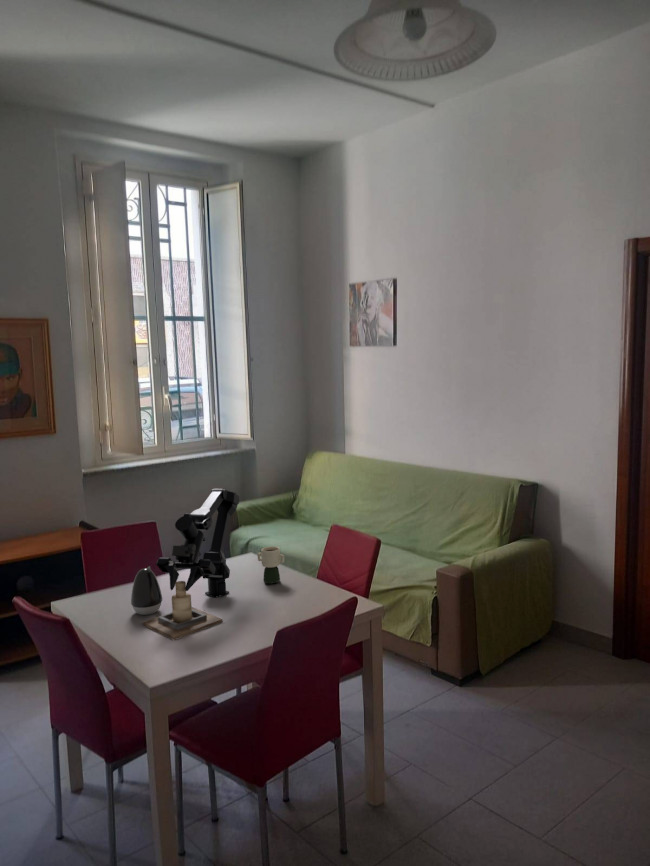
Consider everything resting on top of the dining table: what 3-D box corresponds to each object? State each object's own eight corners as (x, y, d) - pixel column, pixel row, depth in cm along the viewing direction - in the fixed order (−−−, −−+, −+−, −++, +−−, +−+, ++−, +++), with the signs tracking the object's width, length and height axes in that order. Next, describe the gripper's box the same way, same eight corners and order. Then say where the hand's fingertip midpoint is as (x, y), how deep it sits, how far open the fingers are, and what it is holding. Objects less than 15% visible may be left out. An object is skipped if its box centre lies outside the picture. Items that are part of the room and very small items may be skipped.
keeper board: (143, 625, 212) (142, 617, 212) (190, 608, 225) (189, 601, 225) (174, 639, 200) (173, 631, 199) (222, 621, 212) (221, 614, 212)
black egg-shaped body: (166, 606, 228) (163, 563, 227) (158, 617, 218) (155, 572, 216) (137, 606, 229) (134, 564, 227) (127, 618, 218) (124, 573, 217)
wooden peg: (172, 618, 214) (169, 581, 212) (190, 615, 216) (188, 578, 214) (174, 625, 208) (172, 587, 207) (193, 622, 210) (191, 584, 209)
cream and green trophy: (288, 580, 251) (287, 547, 250) (281, 586, 245) (280, 552, 243) (262, 578, 255) (261, 545, 254) (254, 584, 248) (253, 550, 247)
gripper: (157, 533, 215) (141, 577, 206) (210, 535, 211) (197, 579, 201) (169, 550, 224) (155, 592, 214) (221, 552, 219) (209, 595, 210)
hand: (178, 590), depth 210 cm, fingers open, 5 cm apart
